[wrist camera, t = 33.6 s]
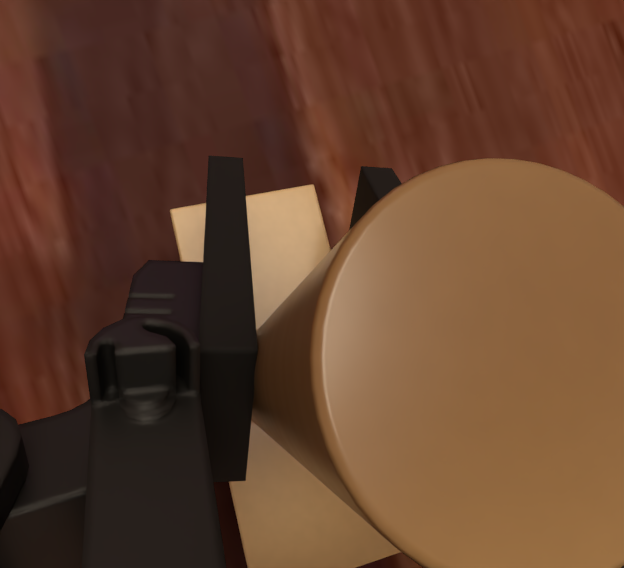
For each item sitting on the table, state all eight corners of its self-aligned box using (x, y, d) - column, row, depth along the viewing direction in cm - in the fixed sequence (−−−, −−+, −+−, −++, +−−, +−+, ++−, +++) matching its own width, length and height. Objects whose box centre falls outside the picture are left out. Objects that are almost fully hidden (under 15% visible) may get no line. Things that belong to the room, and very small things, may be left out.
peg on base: (370, 519, 17) (1058, 1098, 3) (246, 559, 16) (465, 1589, 2) (296, 217, 18) (561, -285, 5) (176, 240, 18) (54, -296, 4)
